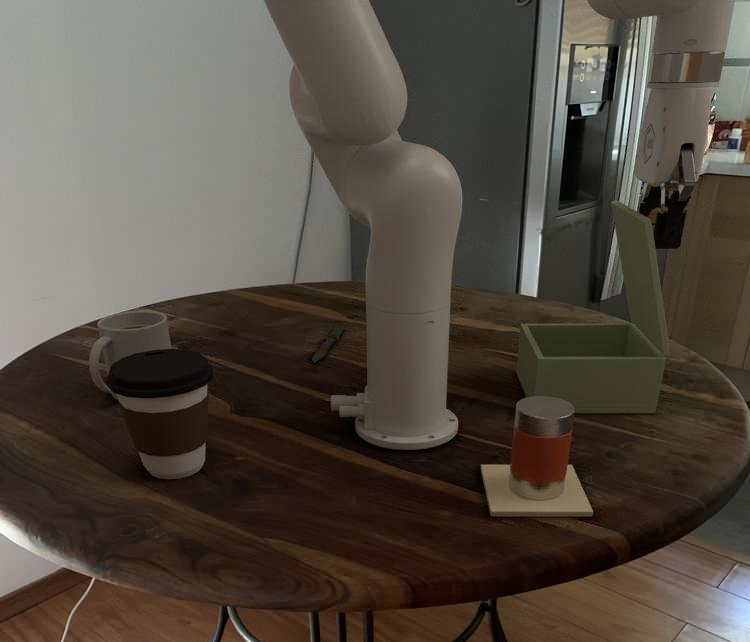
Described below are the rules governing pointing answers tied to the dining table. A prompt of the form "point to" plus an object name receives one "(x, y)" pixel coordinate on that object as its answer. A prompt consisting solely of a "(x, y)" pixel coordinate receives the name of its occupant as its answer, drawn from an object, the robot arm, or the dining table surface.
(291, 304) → the dining table surface
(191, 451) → the coffee cup
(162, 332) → the mug
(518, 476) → the can
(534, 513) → the mat
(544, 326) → the chest
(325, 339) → the knife
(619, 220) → the lid
